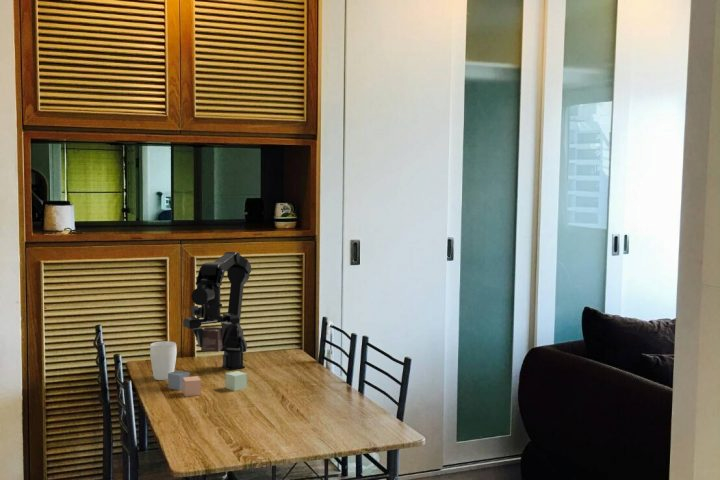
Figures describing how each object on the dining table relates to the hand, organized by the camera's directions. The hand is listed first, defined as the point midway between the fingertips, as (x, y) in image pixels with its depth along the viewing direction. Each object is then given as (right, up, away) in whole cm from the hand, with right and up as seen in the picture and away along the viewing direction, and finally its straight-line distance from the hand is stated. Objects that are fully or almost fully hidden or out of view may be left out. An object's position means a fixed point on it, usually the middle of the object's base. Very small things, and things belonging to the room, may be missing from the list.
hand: (211, 345), depth 274 cm
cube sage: (+9, -13, -7) cm, 18 cm away
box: (0, -2, 0) cm, 2 cm away
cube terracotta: (-4, -14, -14) cm, 20 cm away
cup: (-18, -12, +4) cm, 22 cm away
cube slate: (-10, -13, -7) cm, 18 cm away
